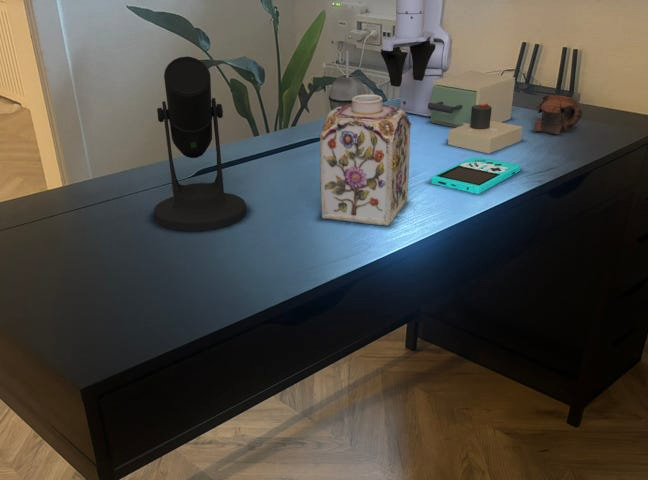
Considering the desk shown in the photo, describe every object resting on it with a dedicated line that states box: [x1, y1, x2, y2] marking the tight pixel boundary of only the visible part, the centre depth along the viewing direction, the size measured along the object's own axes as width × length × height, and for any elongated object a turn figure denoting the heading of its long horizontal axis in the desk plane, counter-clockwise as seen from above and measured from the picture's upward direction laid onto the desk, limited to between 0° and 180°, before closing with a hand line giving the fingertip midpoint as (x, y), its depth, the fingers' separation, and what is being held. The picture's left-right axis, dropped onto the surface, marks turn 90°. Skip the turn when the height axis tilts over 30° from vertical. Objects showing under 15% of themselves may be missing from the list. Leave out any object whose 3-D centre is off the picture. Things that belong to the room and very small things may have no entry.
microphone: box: [153, 56, 247, 232], centre depth 114 cm, size 15×17×25 cm
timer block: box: [447, 121, 523, 155], centre depth 153 cm, size 11×12×3 cm
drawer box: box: [430, 70, 516, 128], centre depth 167 cm, size 14×12×9 cm
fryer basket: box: [428, 85, 477, 126], centre depth 164 cm, size 18×11×7 cm, turn 136°
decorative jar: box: [319, 93, 412, 227], centre depth 116 cm, size 12×12×18 cm
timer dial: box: [470, 104, 492, 129], centre depth 152 cm, size 4×4×4 cm
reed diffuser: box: [328, 50, 367, 111], centre depth 141 cm, size 7×7×20 cm
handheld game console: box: [430, 157, 521, 195], centre depth 134 cm, size 10×16×1 cm, turn 141°
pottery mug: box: [533, 94, 583, 135], centre depth 160 cm, size 12×10×8 cm
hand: (407, 83), depth 156 cm, fingers open, 7 cm apart
